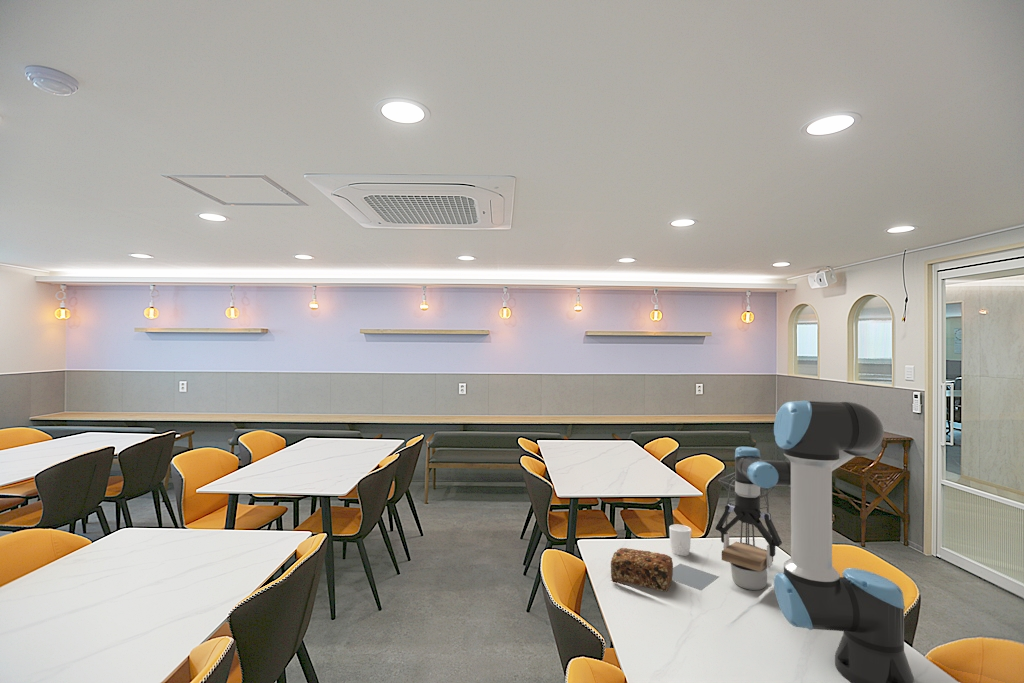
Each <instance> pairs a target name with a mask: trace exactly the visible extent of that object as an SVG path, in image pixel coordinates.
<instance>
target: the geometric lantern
mask: <svg viewBox="0 0 1024 683" xmlns="http://www.w3.org/2000/svg"><path fill="white" fill-rule="evenodd" d="M733 475H734V476H733ZM731 476H732V477H731ZM729 477H731V478H729ZM727 478H729V479H727ZM718 482H719V484H721V485H722V487H723V488H724V489H725V490H726V491H727V492H728V494H727V500H726V504H725V506H726V505H728V504H731V506H735V503H732V502H735V499H730V498H731V495H735V494H736V492H734V491H732V489H735V471H734V472H732V473H730V474H728V475H726V476H722V477H720V478H719V479H718ZM777 487H778V486H775V485H774V486H773V487H770V488H762V487H760V495H759V497H760V499H762V498H764V500H765V503H763V502H761V501H760V505H764V507H760V510H762V509H766V514H767V513H770V509H769V508H770V505H769V503H770V502H769V497H768V496H769V494H770V493H771V492H773V491H774V490H775V488H777ZM769 489H770V490H769ZM765 491H766V493H765ZM727 524H728V518H727V519H726V521H725V523H724V525H725V526H726V525H727ZM743 524H744V523H743V522H741V521H740V536H739V538H740V539H739V543H743V544H746V545H750V546H754V547H757V548H760V547H758V546H756V542H755V541H756V540H755V529H754V528H755V526H754V524H751V530H752V531H751V532H752V544H750V524H748V523H745V542H743V541H742V540H743V526H744V525H743ZM725 526H724V527H725ZM767 531H768V533H769V534H770V532H769V530H768V529H767ZM726 533H728V531H727V532H726ZM770 535H771V534H770ZM730 545H731V544H729V546H730ZM723 549H724V546H723Z"/></svg>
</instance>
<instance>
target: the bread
mask: <svg viewBox="0 0 1024 683" xmlns="http://www.w3.org/2000/svg"><path fill="white" fill-rule="evenodd" d="M616 550H617V551H614V553H613V555H612V557H611V560H610V578H611V581H612V583H615V584H617V583H618V584H620V585H623V586H628V587H630V585H629V584H632V585H634V586H635V585H636V586H639V587H644V588H648V589H653V590H656V591H662V592H668V590H669V589H670V586H671V583H672V581H673V580H672V576H673V568H674V562H673V558H672V557H671V556H669V555H668V554H665V553H659V552H652V551H649V550H640V549H639V550H638V549H634V548H626V547H622V548H621V547H620V548H619V549H616ZM626 583H627V584H626Z"/></svg>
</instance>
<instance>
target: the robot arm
mask: <svg viewBox="0 0 1024 683" xmlns="http://www.w3.org/2000/svg"><path fill="white" fill-rule="evenodd" d="M884 434H885V433H884V425H883V424H882V421H881V419H880V418H879V416H878V415H877V414H876V413H875V412H874V411H873V410H871V409H870V408H868V407H866V406H865V405H862V404H859V403H856V402H852V401H851V402H850V401H817V400H800V401H799V400H795V401H787V402H784V403H783V404H782V405H781V406H780V408H779V409H778V411H777V412H776V415H775V419H774V424H773V436H774V440H775V443H776V445H777V447H779V448H780V449H782V450H783V455H784V457H786V458H787V459H788V460H766V459H765V460H764V459H761V458H762V457H761V453H760V452H761V451H760V449H759V448H756V447H751V446H738V447H736V449H735V452H734V470H735V471H734V472H735V474H734V476H735V478H734V480H735V482H734V483H735V488H734V493H736V494H734V500H735V501H734V504H735V505H732V504H728V505H726V504H725V506H724V511H723V513H722V516H721V517H720V519H719V520H718V522H717V524H716V525H715V530H716V531H719V532H720V537H721V538H720V541H721V543H722V544H723V547H724V548H723V550H724V549H725V548H727V547H728V546H729V545H730V532H728V531H729V530H730V529H731V528H732V527H733V526H735V525H736V524H737V523H738V522H739V521H740V523H741V522H743V524H746V523H747V525H748V524H749V525H752V524H754V528H756V529H757V531H759V533H760V534H761V535H762V537H763V538H764V540H765V541H766V543H767V545H766V550H767V568H770V567H771V566H773V562H772V557H773V558H774V557H775V556H776V547H780V546H781V545H782V543H783V542H782V540H781V538H780V535H779V533H778V531H777V529H776V526H775V525H774V523H773V520H772V514H771V513H770V512H769V513H767V512H766V513H763V512H762V511H761V509H760V508H761V504H760V502H761V498H760V497H759V495H760V496H761V491H760V488H770V487H773V486H774V485H775V486H777V487H779V486H781V487H783V486H784V487H790V558H788V560H786V561H785V562H784V563H783V572H778V573H776V574H775V576H774V577H773V578H774V579H773V587H774V593H775V598H776V601H777V603H778V606H779V609H780V611H781V613H782V615H783V617H784V619H785V620H786V621H787V622H788V623H789V624H790V625H791V626H793V627H795V628H799V629H801V628H802V629H808V630H810V631H811V630H820V631H821V630H822V631H836V632H837V631H838V632H843V633H842V637H841V638H840V641H839V643H838V646H837V648H836V651H835V655H834V664H835V665H834V666H835V668H836V670H837V671H838V672H839V673H840V674H841V675H842V676H843V677H844V678H846V680H848V681H849V682H851V683H915V678H914V675H913V672H912V669H911V666H910V664H909V661H908V658H907V655H906V653H905V609H906V606H905V600H904V593H903V591H902V589H901V587H900V586H899V585H898V584H896V583H895V582H894V581H892V580H890V579H889V578H887V577H885V576H882V575H880V574H877V573H874V572H871V571H867V570H865V569H859V568H853V567H848V568H845V569H844V570H843V572H842V576H841V575H840V573H839V571H838V570H837V569H835V567H834V566H833V473H832V472H833V471H835V470H836V469H838V468H840V467H841V466H842V465H845V464H846V463H847V462H849V461H850V460H852V459H854V458H856V457H864V456H867V455H869V454H870V453H872V452H874V451H875V450H876V449H877V448H879V446H880V445H881V443H882V441H883V440H884ZM770 489H771V488H770ZM732 512H734V513H735V515H736V516H735V517H734V518H732V519H731V521H730V522H727V525H726V526H724V525H725V522H726V519H727V520H728V518H729V516H730V515H731V513H732ZM760 518H762V520H763V521H764V523H765V525H766V527H767V529H766V527H765V526H764V524H763V522H762V521H761V519H760ZM723 526H724V527H723ZM768 530H769V532H770V534H771V535H770V534H769V533H768ZM726 532H727V533H726Z"/></svg>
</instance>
